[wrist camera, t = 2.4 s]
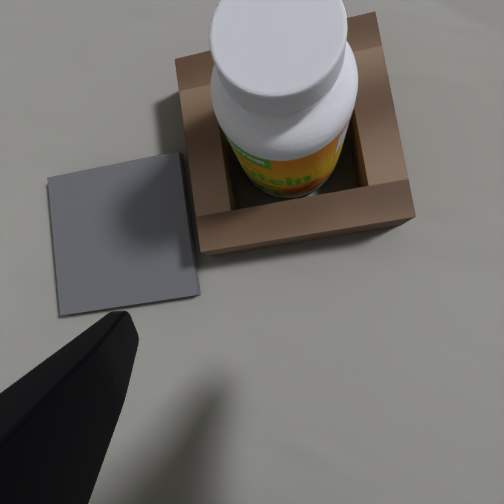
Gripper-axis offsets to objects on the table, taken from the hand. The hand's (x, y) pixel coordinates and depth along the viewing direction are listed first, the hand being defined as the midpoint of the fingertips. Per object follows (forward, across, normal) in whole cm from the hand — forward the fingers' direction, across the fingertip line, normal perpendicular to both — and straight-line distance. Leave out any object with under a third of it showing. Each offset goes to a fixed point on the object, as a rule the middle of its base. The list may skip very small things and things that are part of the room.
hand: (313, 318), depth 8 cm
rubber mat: (+11, +10, +3) cm, 15 cm away
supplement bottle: (+14, +1, 0) cm, 14 cm away
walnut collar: (+13, +1, 0) cm, 13 cm away
